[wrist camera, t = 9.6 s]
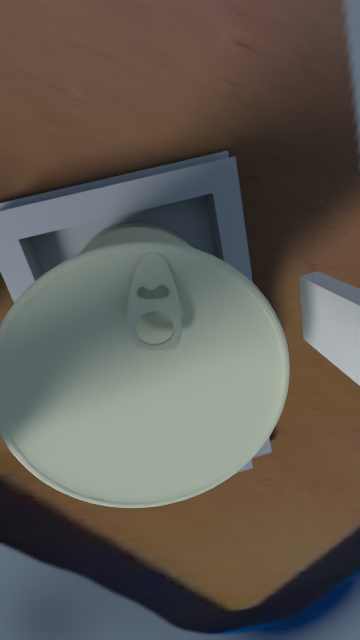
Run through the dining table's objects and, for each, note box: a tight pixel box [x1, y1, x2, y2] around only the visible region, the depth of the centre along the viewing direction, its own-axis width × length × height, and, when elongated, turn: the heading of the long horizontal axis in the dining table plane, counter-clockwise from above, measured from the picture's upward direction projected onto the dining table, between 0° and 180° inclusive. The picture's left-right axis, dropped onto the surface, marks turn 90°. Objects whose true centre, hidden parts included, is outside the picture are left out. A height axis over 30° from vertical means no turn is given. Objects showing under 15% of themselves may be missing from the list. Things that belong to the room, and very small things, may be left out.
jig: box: [0, 151, 271, 473], centre depth 22 cm, size 23×14×3 cm, turn 13°
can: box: [0, 223, 290, 508], centre depth 15 cm, size 9×9×12 cm
